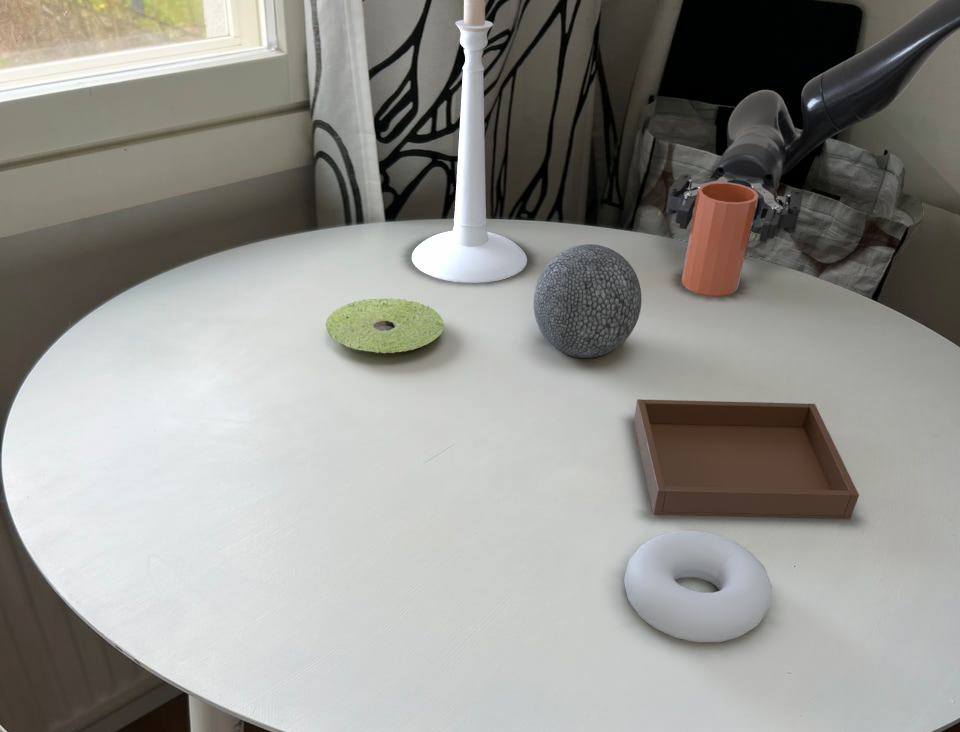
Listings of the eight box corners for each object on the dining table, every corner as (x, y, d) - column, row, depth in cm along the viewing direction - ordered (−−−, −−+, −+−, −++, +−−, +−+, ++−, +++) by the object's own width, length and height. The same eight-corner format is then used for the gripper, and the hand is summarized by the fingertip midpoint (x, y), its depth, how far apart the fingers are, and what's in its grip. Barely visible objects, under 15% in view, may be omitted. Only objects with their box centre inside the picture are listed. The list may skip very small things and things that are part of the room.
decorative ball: (580, 389, 87) (593, 282, 80) (508, 347, 92) (514, 243, 85) (654, 356, 92) (672, 253, 85) (582, 318, 97) (593, 218, 90)
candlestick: (538, 284, 102) (562, -57, 81) (420, 290, 100) (414, -58, 79) (513, 237, 111) (529, -81, 90) (404, 242, 109) (396, -82, 88)
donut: (592, 605, 66) (715, 676, 61) (597, 567, 64) (725, 637, 59) (673, 541, 71) (792, 601, 67) (681, 503, 69) (805, 563, 64)
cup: (730, 277, 105) (751, 182, 98) (741, 301, 101) (764, 204, 94) (677, 276, 105) (693, 181, 98) (685, 300, 101) (703, 202, 94)
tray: (806, 432, 83) (815, 403, 81) (848, 524, 73) (859, 495, 71) (632, 427, 82) (637, 398, 80) (652, 520, 73) (658, 490, 71)
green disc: (344, 310, 97) (343, 291, 95) (453, 321, 96) (453, 303, 94) (313, 363, 89) (311, 344, 87) (431, 376, 88) (431, 357, 86)
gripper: (692, 134, 110) (663, 178, 99) (817, 151, 107) (801, 199, 96) (681, 201, 115) (652, 250, 104) (799, 219, 112) (783, 272, 101)
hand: (723, 226), depth 100 cm, fingers open, 8 cm apart
